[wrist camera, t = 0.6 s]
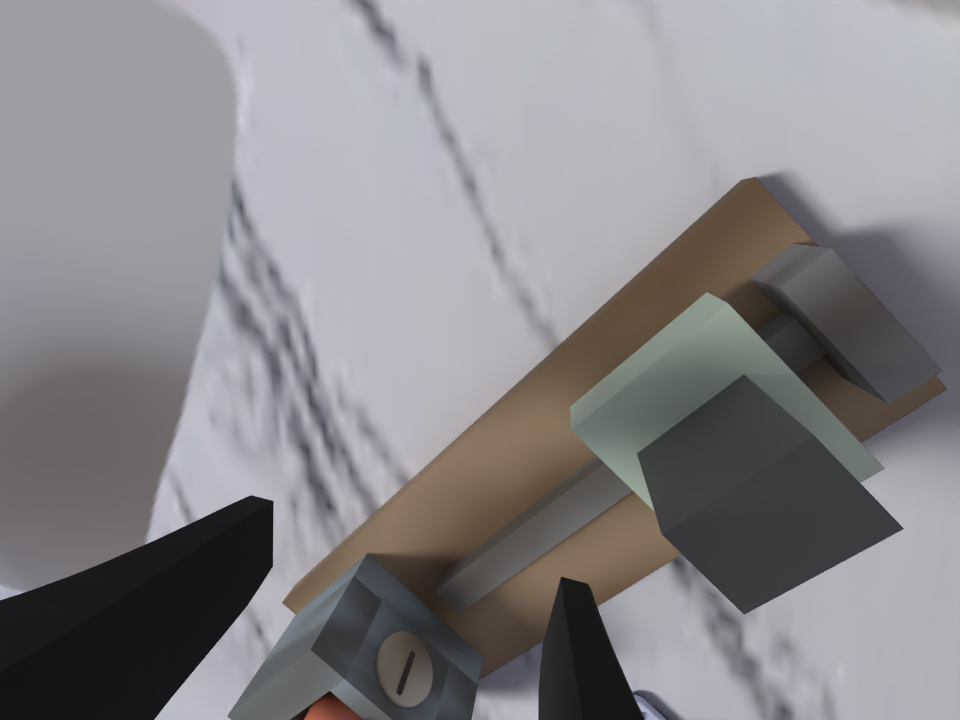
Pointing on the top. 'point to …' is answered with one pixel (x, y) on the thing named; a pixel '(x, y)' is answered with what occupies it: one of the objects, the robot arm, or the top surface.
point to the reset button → (331, 709)
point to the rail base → (566, 480)
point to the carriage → (734, 456)
